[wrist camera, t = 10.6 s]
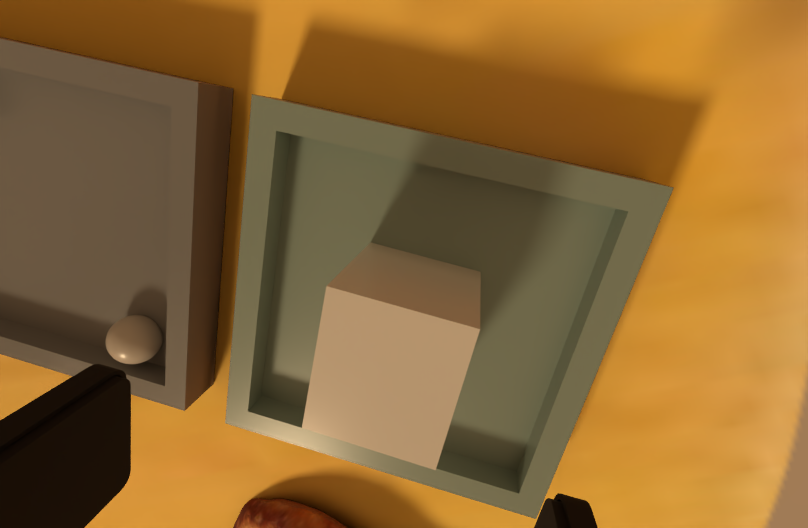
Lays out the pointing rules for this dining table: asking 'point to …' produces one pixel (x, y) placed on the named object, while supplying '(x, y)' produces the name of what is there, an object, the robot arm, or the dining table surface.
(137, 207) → the bin
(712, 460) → the dining table surface
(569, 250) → the bin
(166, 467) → the dining table surface
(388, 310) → the beige block
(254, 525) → the bread slice
